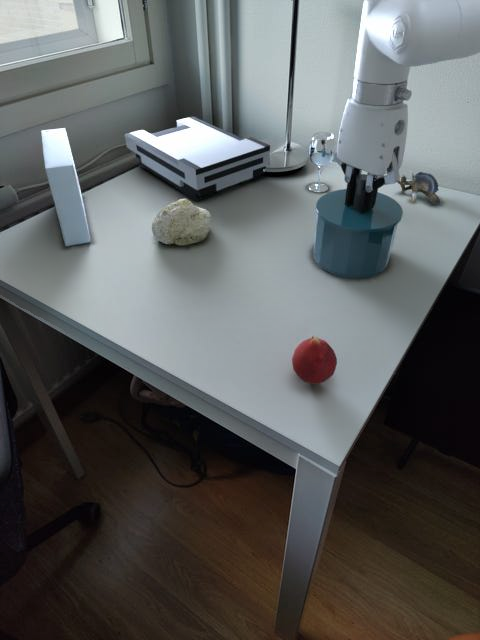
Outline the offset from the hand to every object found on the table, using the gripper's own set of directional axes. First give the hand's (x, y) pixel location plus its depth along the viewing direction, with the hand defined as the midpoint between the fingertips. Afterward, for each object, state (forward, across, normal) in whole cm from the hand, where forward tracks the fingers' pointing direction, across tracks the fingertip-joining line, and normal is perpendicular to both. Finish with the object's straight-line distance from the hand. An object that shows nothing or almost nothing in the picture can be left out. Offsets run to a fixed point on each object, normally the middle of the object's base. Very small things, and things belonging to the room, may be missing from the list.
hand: (359, 206), depth 79 cm
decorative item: (+11, +26, +20) cm, 35 cm away
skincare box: (+10, +47, +34) cm, 59 cm away
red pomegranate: (+11, -17, +27) cm, 34 cm away
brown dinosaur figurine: (+11, +6, -29) cm, 31 cm away
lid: (+1, 0, 0) cm, 1 cm away
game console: (+10, +51, 0) cm, 52 cm away
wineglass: (+10, +24, -16) cm, 31 cm away
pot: (+10, 0, 0) cm, 10 cm away
